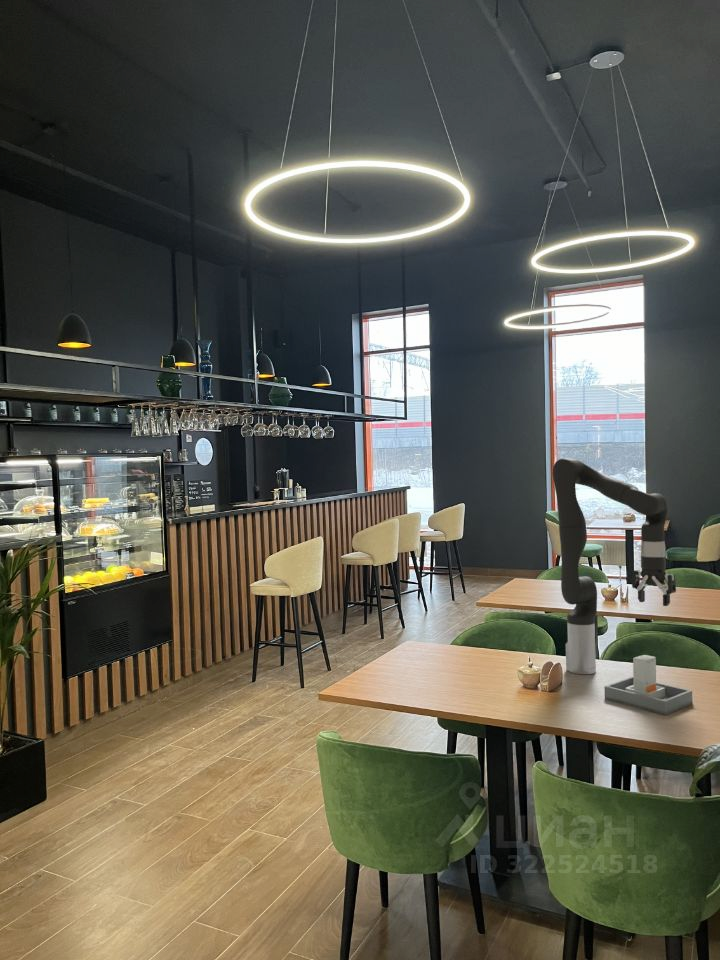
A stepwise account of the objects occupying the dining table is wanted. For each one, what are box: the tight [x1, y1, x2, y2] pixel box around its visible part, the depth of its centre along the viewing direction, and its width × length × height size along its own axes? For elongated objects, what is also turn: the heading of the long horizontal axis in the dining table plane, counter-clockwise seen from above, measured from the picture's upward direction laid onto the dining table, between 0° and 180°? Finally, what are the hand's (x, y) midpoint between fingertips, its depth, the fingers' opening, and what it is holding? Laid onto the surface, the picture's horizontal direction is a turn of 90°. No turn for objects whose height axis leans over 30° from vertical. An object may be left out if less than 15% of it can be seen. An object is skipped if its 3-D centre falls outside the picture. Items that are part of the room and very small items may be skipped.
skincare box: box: [632, 654, 657, 693], centre depth 222 cm, size 6×4×12 cm
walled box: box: [603, 676, 693, 716], centre depth 219 cm, size 20×15×4 cm
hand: (653, 603), depth 235 cm, fingers open, 8 cm apart
